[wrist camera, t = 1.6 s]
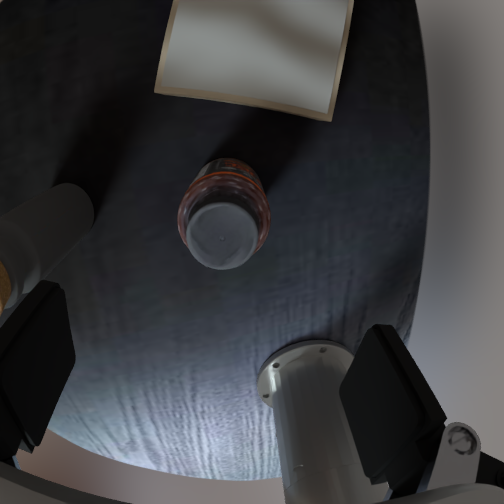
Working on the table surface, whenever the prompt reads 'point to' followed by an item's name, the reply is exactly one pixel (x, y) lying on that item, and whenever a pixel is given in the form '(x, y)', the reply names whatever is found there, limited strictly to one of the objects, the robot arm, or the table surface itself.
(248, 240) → the supplement bottle
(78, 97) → the table surface
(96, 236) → the table surface
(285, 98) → the grey square box
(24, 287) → the bottle
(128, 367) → the table surface
